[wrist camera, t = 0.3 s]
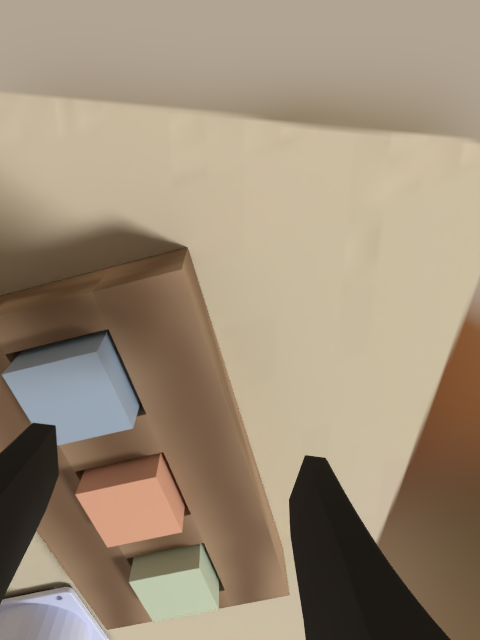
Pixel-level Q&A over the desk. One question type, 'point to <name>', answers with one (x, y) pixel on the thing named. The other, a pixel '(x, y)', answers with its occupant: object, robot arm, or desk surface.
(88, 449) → the button panel
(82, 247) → the desk surface
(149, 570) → the sage button
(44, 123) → the desk surface
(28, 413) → the slate button
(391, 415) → the desk surface
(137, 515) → the terracotta button
